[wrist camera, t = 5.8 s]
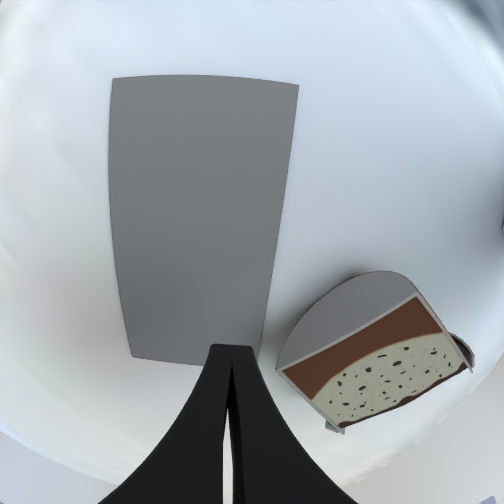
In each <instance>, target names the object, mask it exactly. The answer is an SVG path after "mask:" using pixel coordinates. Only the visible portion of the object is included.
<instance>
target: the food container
mask: <svg viewBox="0 0 504 504" xmlns="http://www.w3.org/2000/svg"><path fill="white" fill-rule="evenodd" d="M473 367H474V354H473V352H472V350H471V349H470V347H469V346H468V345H467V344H466V343H465V342H464V341H463V340H462V339H461V338H459V337H458V336H456V335H455V334H452V333H450V332H448V331H447V329H446V328H445V326H444V325H443V324H442V322H441V321H440V319H439V318H438V316H437V315H436V314H435V312H434V311H433V310H432V308H431V307H430V305H429V304H428V303H427V301H426V300H425V299H424V297H423V296H422V295H421V293H420V292H419V291H418V289H417V288H416V287H415V286H414V284H413V283H412V282H411V281H410V280H409V279H407V278H406V277H405V276H403V275H401V274H399V273H395V272H391V271H375V272H369V273H365V274H362V275H359V276H356V277H354V278H352V279H350V280H347V281H345V282H344V283H342V284H340V285H339V286H337V287H335V288H334V289H332V290H331V291H330V292H328V293H327V294H326V295H324V296H323V297H322V298H321V299H320V300H318V301H317V302H316V303H315V304H314V305H313V306H312V307H311V308H310V309H309V310H308V311H307V312H306V313H305V314H304V316H303V317H302V318H301V319H300V320H299V321H298V323H297V324H296V326H295V327H294V329H293V330H292V331H291V333H290V334H289V336H288V337H287V339H286V341H285V344H284V346H283V348H282V350H281V352H280V354H279V357H278V361H277V365H276V369H275V370H276V371H277V373H278V374H279V375H280V376H281V377H282V378H283V379H284V380H285V381H286V382H287V383H288V384H289V385H290V386H291V387H292V388H293V389H295V390H296V391H297V392H298V393H299V394H300V395H301V396H302V397H303V398H304V399H305V400H306V401H307V402H308V403H309V404H310V405H311V406H312V407H313V408H314V409H315V410H316V411H317V412H318V413H319V414H321V415H322V416H323V417H324V418H325V419H326V424H325V428H326V429H329V430H331V431H333V432H336V433H338V432H340V433H342V434H343V435H344V433H345V427H347V426H350V425H352V424H355V423H358V422H360V421H363V420H366V419H368V418H371V417H373V416H376V415H379V414H382V413H385V412H388V411H390V410H393V409H396V408H398V407H401V406H403V405H406V404H407V403H409V402H411V401H413V400H415V399H416V398H418V397H420V396H421V395H423V394H424V393H426V392H427V391H429V390H431V389H432V388H434V387H436V386H437V385H439V384H441V383H442V382H444V381H446V380H447V379H449V378H451V377H453V376H455V375H457V374H459V373H461V372H462V371H463V370H465V369H466V368H469V370H470V371H471V373H473V371H472V368H473Z"/></svg>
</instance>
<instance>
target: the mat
mask: <svg viewBox="0 0 504 504" xmlns="http://www.w3.org/2000/svg"><path fill="white" fill-rule="evenodd" d="M298 90H299V85H296V84H290V83H284V82H277V81H269V80H261V79H252V78H241V77H229V76H211V75H153V76H136V77H123V78H113V83H112V93H111V106H110V124H109V196H110V214H111V227H112V239H113V248H114V257H115V265H116V273H117V280H118V287H119V293H120V299H121V305H122V310H123V316H124V321H125V326H126V331H127V336H128V340H129V345H130V349H131V353H132V357H135V358H142V359H149V360H156V361H163V362H171V363H180V364H189V365H199V366H204V365H205V362H206V360H207V357H208V353H209V349H210V345H212V344H214V343H216V344H230V345H246V346H251V347H252V348H253V351H254V355H255V358H256V361H257V357H258V352H259V346H260V341H261V335H262V330H263V324H264V318H265V312H266V307H267V301H268V295H269V289H270V283H271V277H272V271H273V265H274V258H275V252H276V246H277V240H278V233H279V227H280V220H281V214H282V207H283V200H284V194H285V187H286V180H287V173H288V166H289V159H290V151H291V144H292V137H293V129H294V122H295V114H296V106H297V98H298Z"/></svg>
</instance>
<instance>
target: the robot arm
mask: <svg viewBox="0 0 504 504" xmlns="http://www.w3.org/2000/svg"><path fill="white" fill-rule="evenodd" d="M503 232H504V226H503ZM227 409H228V416H229V429H230V440H231V451H232V463H233V504H358V503H357V502H355V501H354V500H353V499H352V498H351V497H349V496H348V495H347V494H346V493H345V492H344V491H343V490H341V489H340V488H339V487H338V486H337V485H336V484H335V483H334V482H333V481H332V480H331V479H330V478H329V477H328V476H327V475H326V474H325V473H324V472H323V470H322V469H321V468H320V467H319V466H318V465H317V464H316V463H315V462H314V461H313V459H312V458H311V457H310V456H309V455H308V453H307V452H306V451H305V449H304V448H303V447H302V446H301V444H300V443H299V441H298V440H297V439H296V437H295V436H294V434H293V433H292V431H291V430H290V428H289V427H288V425H287V424H286V422H285V420H284V419H283V417H282V415H281V414H280V412H279V410H278V408H277V406H276V405H275V403H274V401H273V399H272V397H271V395H270V393H269V391H268V388H267V386H266V384H265V382H264V380H263V377H262V375H261V372H260V370H259V367H258V364H257V361H256V358H255V355H254V351H253V348H252V347H251V346H246V345H230V344H216V343H214V344H212V345H210V349H209V353H208V357H207V360H206V362H205V365H204V367H203V370H202V372H201V375H200V377H199V379H198V381H197V383H196V385H195V387H194V389H193V391H192V393H191V395H190V397H189V398H188V400H187V402H186V403H185V405H184V407H183V409H182V410H181V412H180V414H179V415H178V417H177V418H176V420H175V421H174V423H173V424H172V426H171V427H170V429H169V430H168V432H167V433H166V434H165V436H164V437H163V438H162V440H161V441H160V442H159V443H158V445H157V446H156V447H155V448H154V450H153V451H152V452H151V453H150V455H149V456H148V457H147V458H146V459H145V460H144V461H143V463H142V464H141V465H140V466H139V467H138V468H137V469H136V470H135V471H134V472H133V473H132V474H131V475H130V476H129V477H128V478H127V479H126V480H125V481H124V482H123V483H122V484H121V485H120V486H119V487H118V488H117V489H115V490H114V491H113V492H111V493H110V494H109V495H108V496H107V497H105V498H104V499H103V500H102V501H101V502H99V503H98V504H223V440H224V432H225V424H226V417H227ZM0 504H3V503H1V502H0ZM479 504H496V501H495V498H494V496H491V497H489V498H488V499H486V500H484V501H482V502H481V503H479Z"/></svg>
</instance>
